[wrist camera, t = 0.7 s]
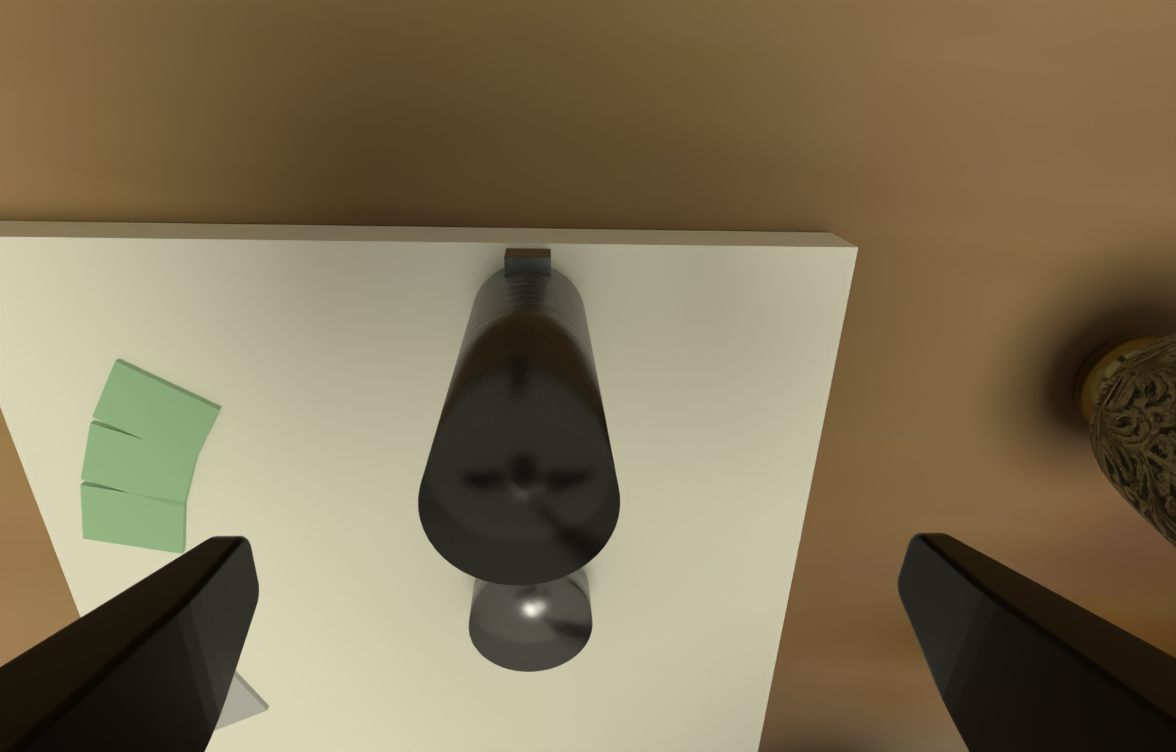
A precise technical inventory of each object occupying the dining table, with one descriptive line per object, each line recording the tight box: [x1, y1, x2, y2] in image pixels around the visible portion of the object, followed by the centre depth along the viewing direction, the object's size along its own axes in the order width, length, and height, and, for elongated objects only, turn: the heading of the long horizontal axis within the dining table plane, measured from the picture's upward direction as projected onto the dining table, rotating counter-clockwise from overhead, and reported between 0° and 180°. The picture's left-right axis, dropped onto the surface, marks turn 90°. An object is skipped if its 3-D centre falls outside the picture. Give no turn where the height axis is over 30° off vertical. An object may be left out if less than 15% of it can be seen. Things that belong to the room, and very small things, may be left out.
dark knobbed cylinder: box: [418, 248, 620, 672], centre depth 17 cm, size 14×4×9 cm, turn 178°
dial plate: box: [0, 221, 858, 752], centre depth 24 cm, size 22×25×2 cm
